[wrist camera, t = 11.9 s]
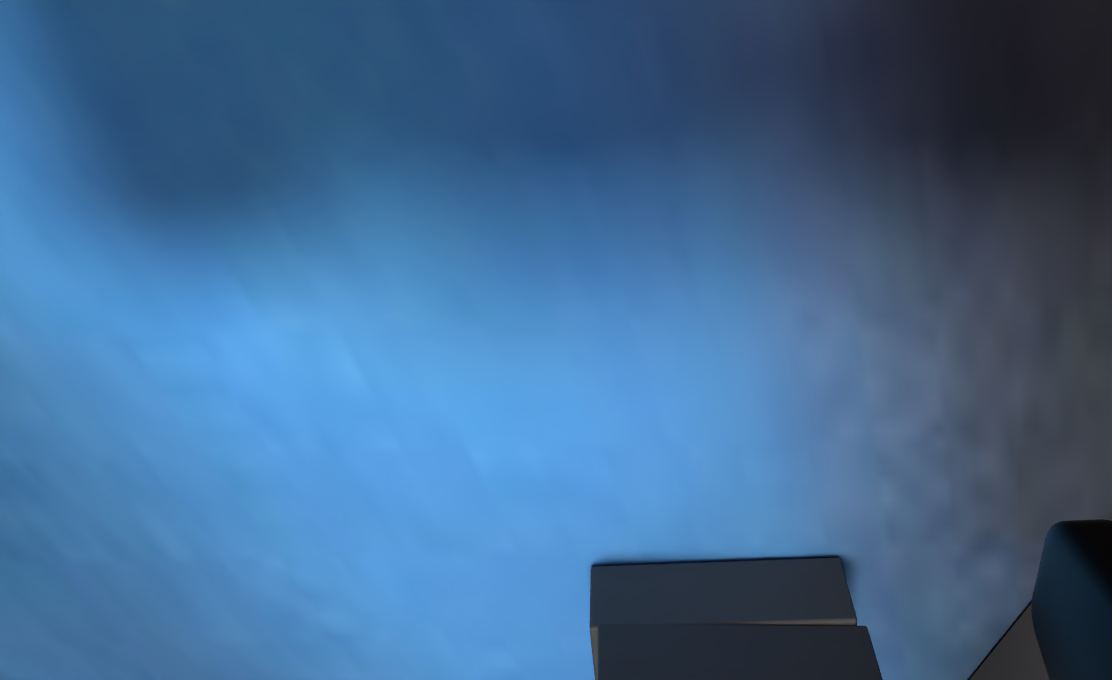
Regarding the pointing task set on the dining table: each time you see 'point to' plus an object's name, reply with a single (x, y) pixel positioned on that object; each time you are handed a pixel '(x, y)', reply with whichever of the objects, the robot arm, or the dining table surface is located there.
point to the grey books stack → (728, 622)
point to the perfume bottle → (1015, 655)
